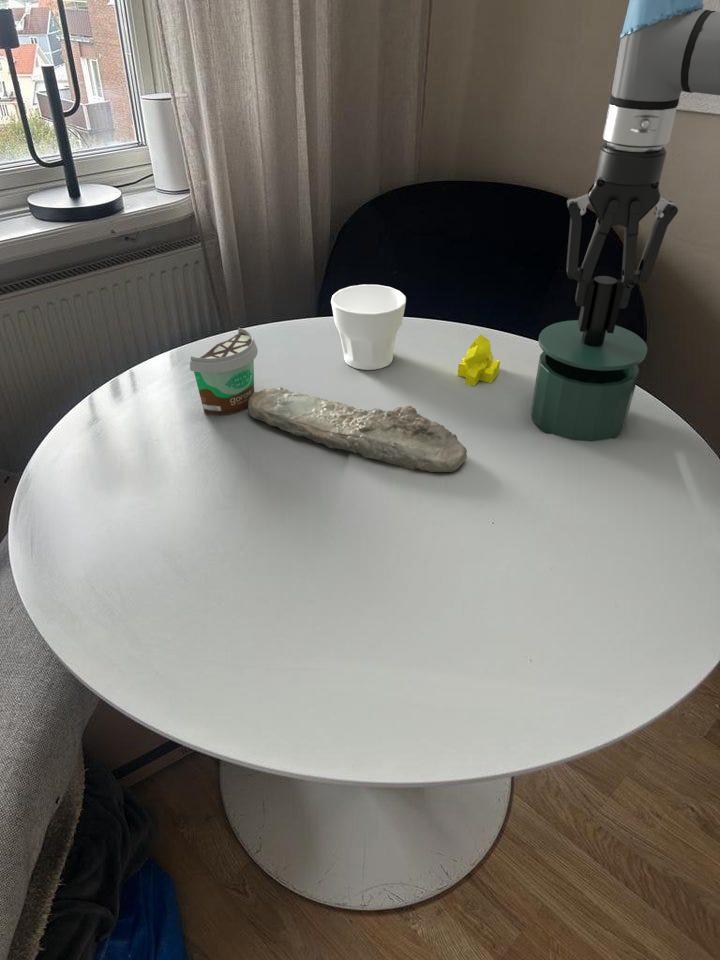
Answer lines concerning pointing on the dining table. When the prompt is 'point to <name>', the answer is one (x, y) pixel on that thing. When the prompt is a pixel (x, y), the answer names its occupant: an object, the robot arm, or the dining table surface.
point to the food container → (226, 374)
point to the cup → (368, 323)
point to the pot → (581, 400)
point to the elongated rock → (362, 430)
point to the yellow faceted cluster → (479, 363)
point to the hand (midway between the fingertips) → (595, 327)
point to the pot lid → (594, 337)
